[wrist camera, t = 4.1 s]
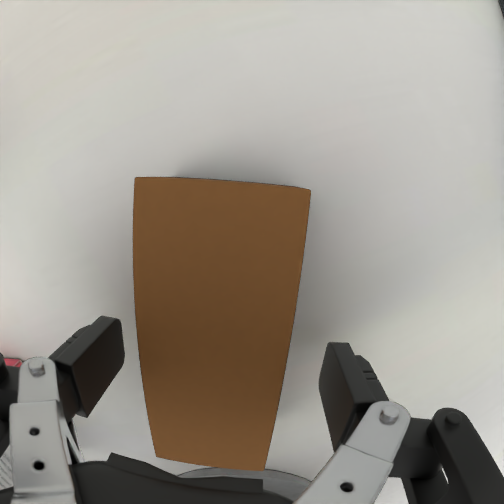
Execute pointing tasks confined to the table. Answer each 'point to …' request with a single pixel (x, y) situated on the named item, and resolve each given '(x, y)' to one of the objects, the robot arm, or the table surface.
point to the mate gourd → (271, 479)
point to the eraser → (215, 312)
